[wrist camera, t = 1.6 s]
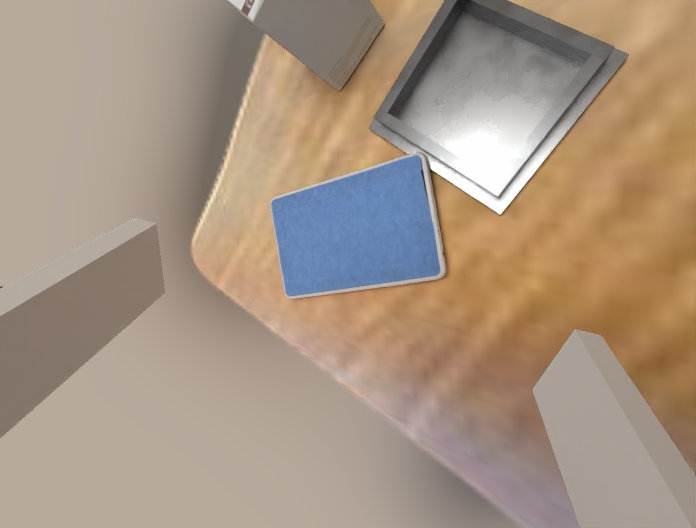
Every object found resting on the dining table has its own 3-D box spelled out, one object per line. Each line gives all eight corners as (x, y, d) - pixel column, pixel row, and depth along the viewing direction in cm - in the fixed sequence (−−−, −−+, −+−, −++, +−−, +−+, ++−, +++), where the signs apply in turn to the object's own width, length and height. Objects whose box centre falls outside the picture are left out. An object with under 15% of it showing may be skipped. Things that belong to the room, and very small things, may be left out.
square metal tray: (459, -14, 32) (455, -37, 30) (625, 59, 28) (638, 39, 25) (371, 130, 37) (360, 121, 34) (500, 215, 32) (500, 212, 29)
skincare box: (349, -1, 37) (259, -141, 24) (388, 27, 35) (315, -106, 22) (305, 69, 40) (201, -21, 26) (339, 98, 38) (248, 18, 25)
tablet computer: (427, 150, 34) (423, 147, 32) (449, 278, 33) (446, 279, 32) (274, 199, 43) (267, 197, 41) (290, 299, 42) (284, 301, 41)
